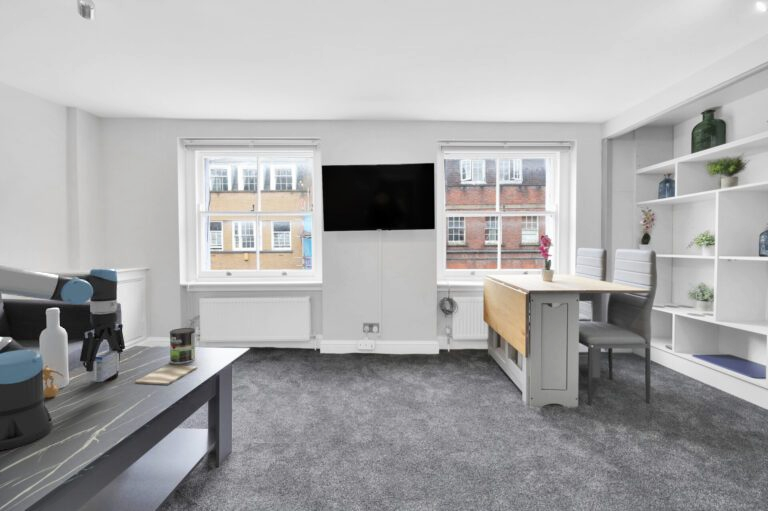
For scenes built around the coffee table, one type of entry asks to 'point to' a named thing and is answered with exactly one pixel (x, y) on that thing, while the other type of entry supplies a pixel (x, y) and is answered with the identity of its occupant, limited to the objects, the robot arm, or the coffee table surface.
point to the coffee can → (182, 345)
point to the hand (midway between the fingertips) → (103, 375)
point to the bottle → (54, 349)
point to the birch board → (166, 375)
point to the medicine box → (105, 365)
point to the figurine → (51, 390)
